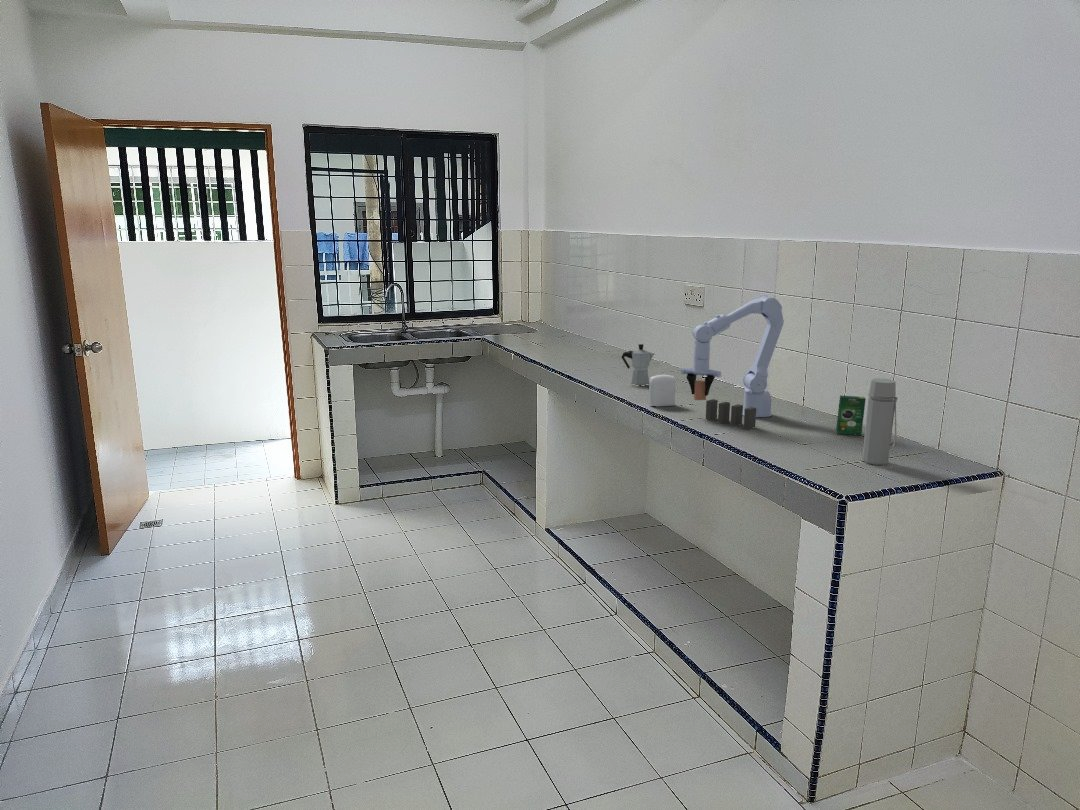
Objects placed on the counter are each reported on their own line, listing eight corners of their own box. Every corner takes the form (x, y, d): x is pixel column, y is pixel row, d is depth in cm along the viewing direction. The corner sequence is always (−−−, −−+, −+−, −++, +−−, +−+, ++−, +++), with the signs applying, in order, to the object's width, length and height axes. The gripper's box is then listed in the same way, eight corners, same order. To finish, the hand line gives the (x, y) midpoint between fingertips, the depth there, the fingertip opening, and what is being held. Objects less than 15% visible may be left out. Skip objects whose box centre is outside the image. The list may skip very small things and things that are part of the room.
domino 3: (742, 424, 274) (743, 405, 272) (735, 426, 272) (736, 407, 270) (737, 423, 276) (738, 404, 274) (730, 425, 273) (731, 406, 271)
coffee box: (861, 433, 261) (864, 395, 258) (862, 435, 258) (865, 397, 255) (835, 432, 262) (838, 394, 259) (837, 434, 260) (840, 396, 257)
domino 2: (729, 421, 278) (730, 402, 277) (722, 423, 276) (723, 404, 274) (724, 420, 280) (725, 401, 278) (717, 422, 277) (718, 403, 276)
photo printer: (650, 407, 300) (651, 376, 297) (647, 404, 304) (648, 374, 301) (676, 406, 301) (677, 375, 298) (673, 404, 305) (674, 373, 302)
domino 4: (755, 427, 270) (756, 407, 268) (748, 429, 268) (749, 409, 266) (750, 426, 272) (751, 406, 270) (743, 428, 269) (744, 408, 267)
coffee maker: (654, 382, 346) (655, 342, 342) (655, 386, 337) (656, 345, 333) (620, 382, 347) (621, 342, 343) (620, 386, 339) (621, 345, 335)
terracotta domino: (705, 399, 284) (706, 381, 282) (695, 400, 283) (696, 381, 282) (704, 398, 286) (704, 380, 284) (693, 399, 285) (694, 380, 283)
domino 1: (716, 418, 282) (717, 400, 281) (710, 420, 280) (710, 401, 278) (712, 417, 284) (713, 399, 282) (705, 419, 281) (706, 400, 280)
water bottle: (868, 466, 226) (876, 383, 220) (857, 458, 234) (864, 378, 228) (899, 466, 226) (908, 383, 220) (887, 458, 234) (895, 377, 228)
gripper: (724, 357, 281) (722, 394, 284) (685, 355, 288) (684, 390, 291) (718, 361, 275) (717, 398, 278) (679, 358, 281) (678, 394, 285)
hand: (700, 394), depth 284 cm, fingers closed on terracotta domino, 4 cm apart
